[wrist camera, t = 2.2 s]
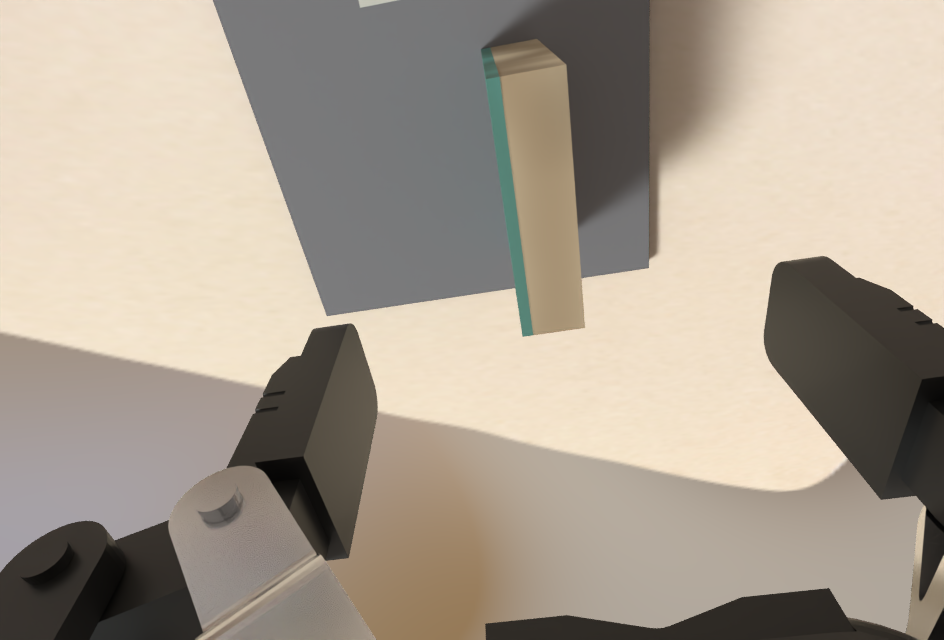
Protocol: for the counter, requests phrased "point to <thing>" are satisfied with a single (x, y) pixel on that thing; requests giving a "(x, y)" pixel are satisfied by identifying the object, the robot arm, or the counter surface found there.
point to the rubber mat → (436, 135)
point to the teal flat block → (536, 182)
